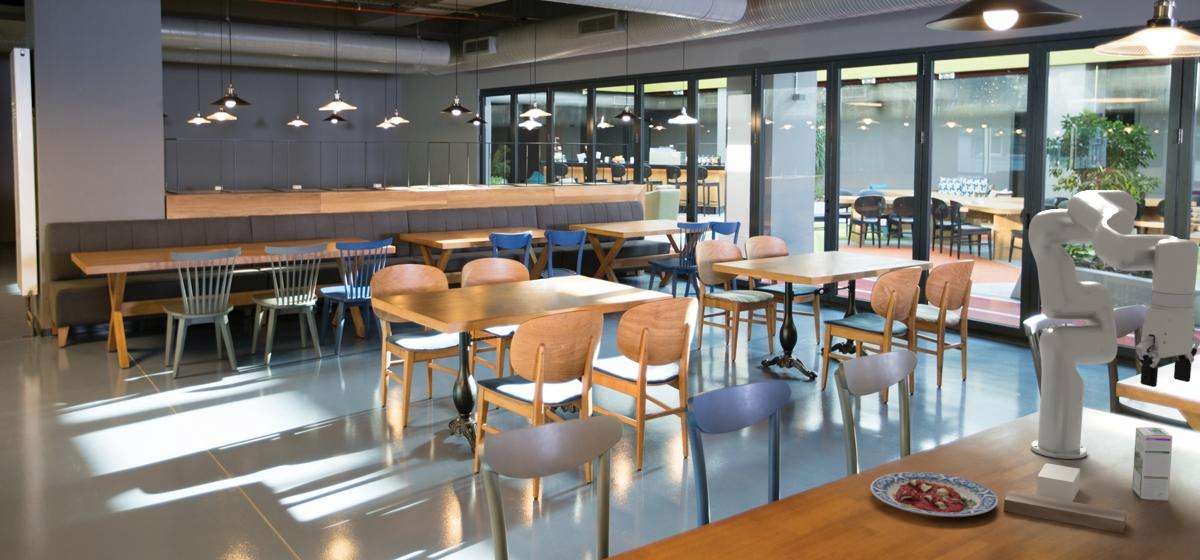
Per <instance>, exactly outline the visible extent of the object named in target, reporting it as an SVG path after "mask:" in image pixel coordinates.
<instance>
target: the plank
mask: <svg viewBox="0 0 1200 560" xmlns="http://www.w3.org/2000/svg"><path fill="white" fill-rule="evenodd" d="M1007 511H1008V512H1009V513H1012V512H1013V514H1018V515H1023V516H1028V517H1029V516H1030V517H1035V518H1040V519H1045V520H1050V521H1056V522H1062V523H1064V524H1071V525H1076V526H1083V527H1087V528H1093V529H1097V530H1104V531H1109V532H1114V533H1119V534H1124V532H1125V528H1126V524H1127V516H1128V515H1127V513H1128V511H1126V510H1120V509H1115V508H1109V507H1105V506H1099V505H1093V504H1088V503H1081V502H1076V501H1073V502H1071V501H1065V500H1060V499H1054V498H1049V497H1043V496H1037V495H1036V494H1031V493H1025V492H1019V491H1013V490H1009V491H1008V493H1007V494H1006V496H1005V498H1004V502H1003V512H1007Z"/></svg>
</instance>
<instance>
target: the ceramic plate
mask: <svg viewBox="0 0 1200 560" xmlns="http://www.w3.org/2000/svg"><path fill="white" fill-rule="evenodd" d="M870 491H871V493H872V494H873V496H874V497H875V498H876V499H878V500H879V501H881V502H882V503H885V504H886V505H888V506H891V507H893V508H896V509H899V510H902V511H906V512H910V513H914V514H918V515H923V516H932V517H942V518H943V517H945V518H961V517H971V516H973V517H974V516H977V515H982V514H985V513H987V512H988V513H989V512H990V511H991V510H994V509H995V508H996V506H997V505H998V501H999V499H998V497H997V495H996V494H995V493H994V492H993V490H991V489H989V488H988V487H986V486H984V485H983V484H980V483H978V482H975V481H973V480H969V479H966V478H963V477H959V476H955V475H951V474H950V475H949V474H946V473H945V474H943V473H936V472H928V471H924V472H923V471H904V472H896V473H889V474H885V475H882V476H880V477H878V478H875V479H874V480H873V481H872V483H870ZM893 493H894V494H895V497H896V498H895V500H896V501H895V500H894V498H893V496H892V495H893ZM898 502H899V503H898ZM901 503H903V504H906V505H910V504H911V506H913V507H915V508H916V509H915V508H911V507H907V506H904V505H901Z"/></svg>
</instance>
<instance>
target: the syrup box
mask: <svg viewBox="0 0 1200 560" xmlns="http://www.w3.org/2000/svg"><path fill="white" fill-rule="evenodd" d="M1134 438H1135V441H1134V454H1133V455H1134V456H1133V457H1134V458H1133V468H1132V469H1133V471H1132V491H1133V492H1134V493H1135V494H1136V495H1137V496H1138V497H1139V498H1140V499H1141V500H1148V501H1169V497H1170V496H1169V495H1170V486H1171V483H1170V482H1171V469H1172V468H1171V465H1172V452H1173V451H1172V448H1173V435H1172V434H1170V433H1169V432H1168V431H1166V430H1165V429H1164V428H1162V427H1161V428H1160V427H1153V426H1152V427H1148V426H1147V427H1144V426H1143V427H1136V428H1135V437H1134Z"/></svg>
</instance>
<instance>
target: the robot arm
mask: <svg viewBox="0 0 1200 560" xmlns="http://www.w3.org/2000/svg"><path fill="white" fill-rule="evenodd" d="M1137 211H1138V205H1137V201H1136V200H1135V198H1134V197H1133V195H1131V194H1130V193H1129V192H1127V191H1125V190H1118V189H1115V190H1114V189H1113V190H1110V189H1109V190H1106V189H1105V190H1099V189H1098V190H1095V189H1094V190H1093V189H1092V190H1083V191H1080V192H1077V193H1076V194H1074V195H1072V196H1071V197H1070V198H1069V200H1068V201H1067V205H1066V208H1058V209H1056V208H1055V209H1048V210H1042V211H1040V212H1038V213H1037V214H1035V215H1034V216H1033V217H1032V219H1031V221H1030V223H1029V226H1028V242H1029V246H1030V249H1031V253H1032V255H1033V258H1034V260H1035V263H1036V269H1037V276H1038V285H1039V294H1040V302H1041V308H1042V312H1043V315H1044V316H1045V317H1046V318H1047V319H1050V320H1052V321H1053V320H1054V321H1085V323H1086V325H1082V324H1081V325H1077V324H1076V325H1071V324H1069V325H1056V326H1051V327H1048V328H1046V329H1045V330H1044V331H1043V332H1042V333H1041V334H1040V336H1039V341H1038V343H1039V344H1038V345H1039V353H1040V354H1039V355H1040V364H1041V382H1040V383H1041V384H1040V400H1039V401H1040V402H1039V417H1038V418H1039V419H1038V420H1039V421H1038V433H1037V434H1038V435H1037V439H1036V440H1033V441H1032V442H1031V443H1030V449H1031V450H1032V451H1033V452H1034V453H1036V454H1038V455H1042V456H1045V457H1049V458H1054V459H1061V460H1063V459H1064V460H1077V459H1082V458H1084V457H1086V456H1087V455H1088V450H1087V448H1086V447H1085V446H1083V445H1081V440H1082V439H1081V437H1082V425H1083V423H1082V422H1083V413H1084V412H1083V411H1084V410H1083V409H1084V394H1085V393H1084V392H1085V382H1084V379H1083V377H1082V376H1081V374H1080V373H1079V371H1078V370H1077V368H1076V366H1079V365H1080V366H1081V365H1104V364H1109V363H1111V362H1112V361H1114V360H1115V358H1116V356H1117V353H1118V349H1119V348H1118V334H1117V333H1118V332H1117V328H1116V327H1117V326H1116V318H1115V311H1114V303H1113V302H1114V301H1113V298H1112V295H1111V293H1110V290H1109V289H1108V288H1107V287H1106V286H1105V285H1104V284H1102V283H1100V282H1098V281H1079V280H1078V276H1077V270H1076V263H1075V261H1074V259H1073V257H1072V256H1071V255H1070V254H1069V252H1068V251H1067V250H1066V249H1065V248H1064V247H1062V245H1065V244H1067V245H1068V244H1069V245H1078V244H1079V245H1081V244H1082V245H1083V244H1084V245H1085V244H1087V245H1089V244H1090V245H1091V244H1092V247H1093V250H1094V254H1095V255H1096V257H1097V258H1098V259H1100V260H1101V261H1103V263H1105V264H1106V265H1108V266H1109V267H1111V268H1112V269H1115V270H1118V271H1124V272H1135V271H1138V272H1139V271H1149V272H1151V271H1152V279H1151V280H1152V282H1151V292H1150V293H1151V295H1150V305H1149V306H1147V310H1146V313H1145V316H1144V321H1143V326H1142V331H1141V332H1142V333H1141V339H1140V343H1138V344H1137V345H1135V351H1136V353H1137V359H1138V361H1139V365H1140V366H1141V369H1140V371H1141V373H1140V384H1141V385H1144V386H1147V387H1152V388H1155V387H1157V384H1158V375H1159V374H1158V373H1159V368H1158V367H1157V365H1158V364H1159V362H1160V360H1161V359H1162V358H1163V359H1164V358H1172V357H1173V358H1174V357H1176V358H1177V359H1175V361H1174V370H1173V379H1175V380H1177V381H1181V382H1185V383H1188V382H1190V381H1191V376H1192V374H1191V373H1192V363H1194V361H1195V358H1194V357H1195V356H1196V354H1197V353H1198V348H1199V346H1200V338H1198V337H1197V336H1195V311H1194V310H1195V309H1194V306H1195V293H1196V284H1197V283H1196V282H1197V273H1198V259H1199V245H1198V244H1197V242H1196V241H1193V240H1190V239H1184V238H1183V239H1181V238H1179V237H1176V236H1174V235H1171V234H1132V233H1133V231H1134V227H1135V218H1136V217H1137V213H1138V212H1137ZM1151 357H1152V358H1151Z"/></svg>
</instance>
